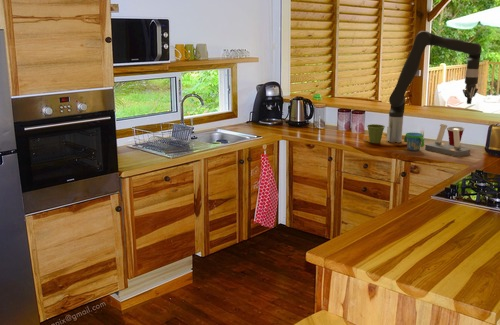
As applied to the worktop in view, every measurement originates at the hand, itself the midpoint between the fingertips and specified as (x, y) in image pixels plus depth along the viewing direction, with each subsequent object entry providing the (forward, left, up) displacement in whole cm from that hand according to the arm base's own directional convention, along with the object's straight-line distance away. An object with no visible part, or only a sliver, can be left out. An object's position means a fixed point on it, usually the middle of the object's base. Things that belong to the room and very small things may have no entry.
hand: (468, 103), depth 346 cm
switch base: (-15, -8, -29) cm, 33 cm away
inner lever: (-18, -2, -25) cm, 31 cm away
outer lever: (-11, -14, -25) cm, 31 cm away
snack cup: (-34, -1, -29) cm, 45 cm away
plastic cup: (-4, +7, -29) cm, 30 cm away
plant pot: (-52, +22, -29) cm, 63 cm away
